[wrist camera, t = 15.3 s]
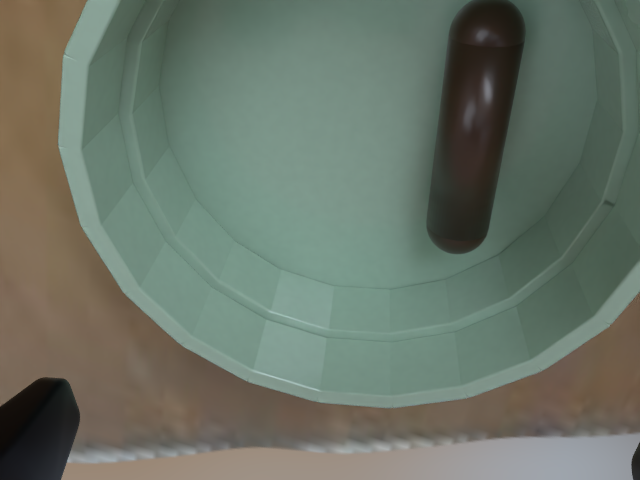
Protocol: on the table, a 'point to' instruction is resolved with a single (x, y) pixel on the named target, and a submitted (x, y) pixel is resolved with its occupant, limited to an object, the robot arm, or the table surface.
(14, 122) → the table surface
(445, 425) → the table surface
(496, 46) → the stick
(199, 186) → the bowl
